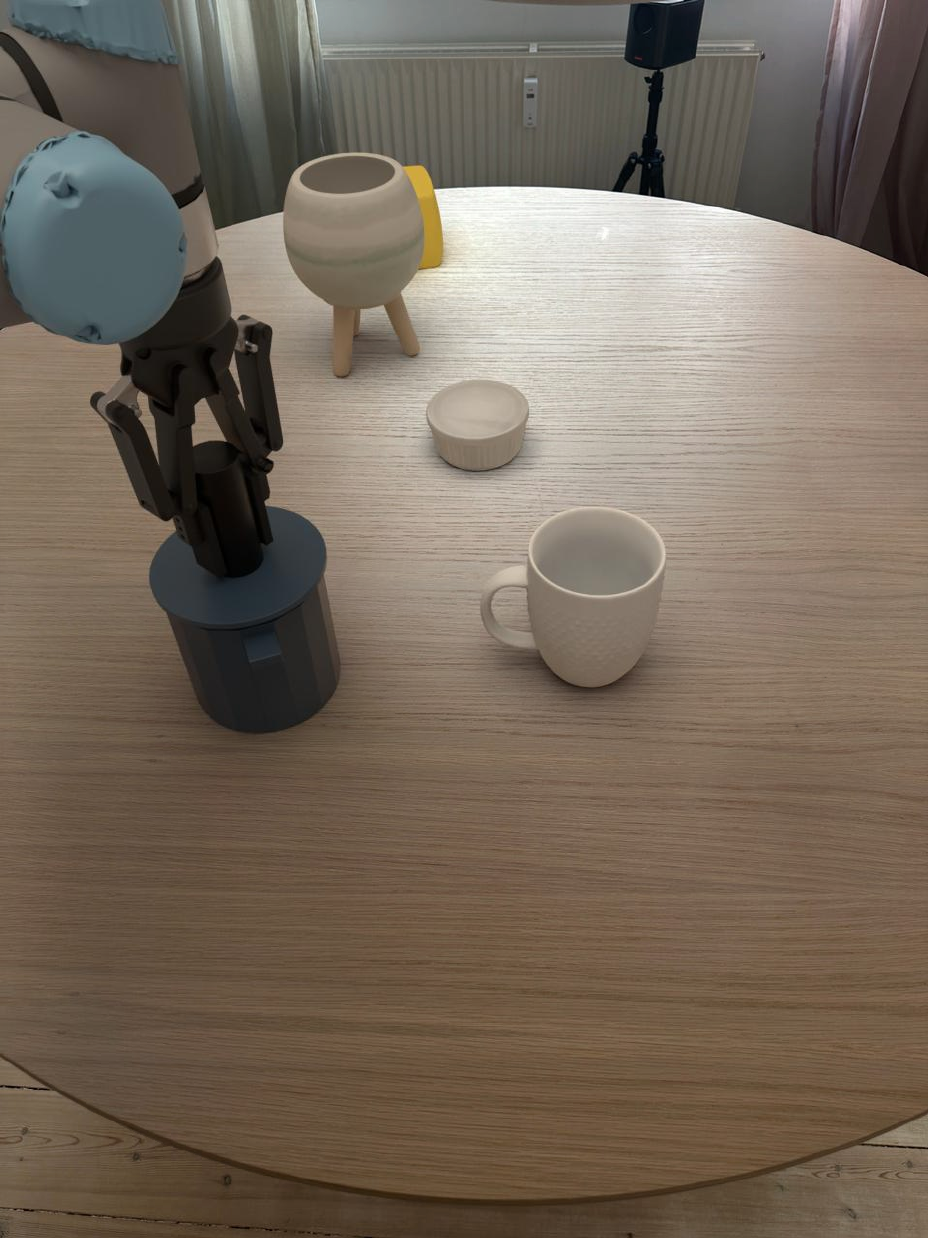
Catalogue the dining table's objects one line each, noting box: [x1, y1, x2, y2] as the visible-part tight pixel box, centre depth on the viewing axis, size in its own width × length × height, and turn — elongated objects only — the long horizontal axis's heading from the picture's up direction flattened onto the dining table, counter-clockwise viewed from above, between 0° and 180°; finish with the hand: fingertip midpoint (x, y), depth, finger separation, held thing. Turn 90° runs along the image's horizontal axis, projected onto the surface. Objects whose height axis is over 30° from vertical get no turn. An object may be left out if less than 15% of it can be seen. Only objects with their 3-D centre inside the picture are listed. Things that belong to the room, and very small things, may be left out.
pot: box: [165, 574, 341, 734], centre depth 82 cm, size 13×18×12 cm
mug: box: [479, 506, 667, 688], centre depth 82 cm, size 15×11×13 cm
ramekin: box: [425, 379, 530, 472], centre depth 108 cm, size 11×11×5 cm
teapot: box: [402, 165, 444, 270], centre depth 139 cm, size 20×12×12 cm, turn 9°
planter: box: [282, 152, 425, 378], centre depth 116 cm, size 16×16×22 cm
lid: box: [148, 439, 328, 629], centre depth 74 cm, size 14×14×11 cm
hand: (235, 551), depth 76 cm, fingers closed on lid, 4 cm apart
